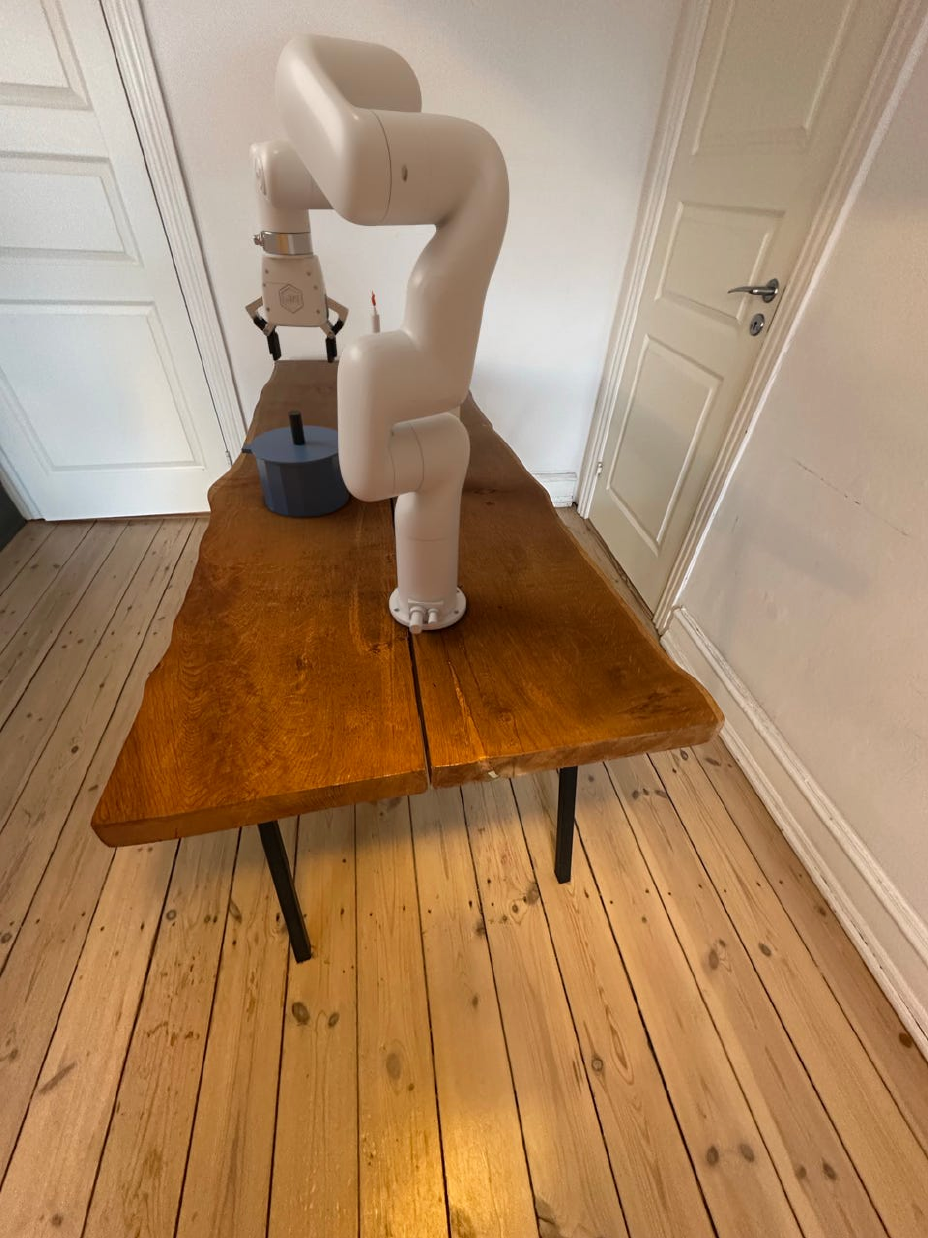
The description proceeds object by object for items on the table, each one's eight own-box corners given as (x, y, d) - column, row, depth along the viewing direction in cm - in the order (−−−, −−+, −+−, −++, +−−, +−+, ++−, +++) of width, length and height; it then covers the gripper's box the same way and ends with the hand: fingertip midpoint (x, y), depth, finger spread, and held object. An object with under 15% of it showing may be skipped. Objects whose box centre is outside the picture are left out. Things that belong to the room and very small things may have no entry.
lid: (337, 469, 104) (333, 432, 99) (239, 465, 104) (230, 428, 99) (353, 432, 118) (350, 398, 113) (267, 428, 118) (260, 394, 113)
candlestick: (393, 462, 133) (385, 297, 110) (353, 454, 135) (337, 291, 113) (411, 445, 141) (407, 288, 118) (373, 438, 143) (362, 283, 121)
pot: (354, 519, 111) (349, 466, 104) (241, 515, 111) (227, 461, 103) (367, 480, 125) (363, 430, 117) (265, 476, 124) (255, 426, 117)
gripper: (225, 245, 84) (249, 363, 95) (338, 250, 84) (349, 368, 95) (241, 239, 90) (262, 352, 101) (346, 244, 90) (356, 356, 101)
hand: (304, 359), depth 98 cm, fingers open, 9 cm apart
